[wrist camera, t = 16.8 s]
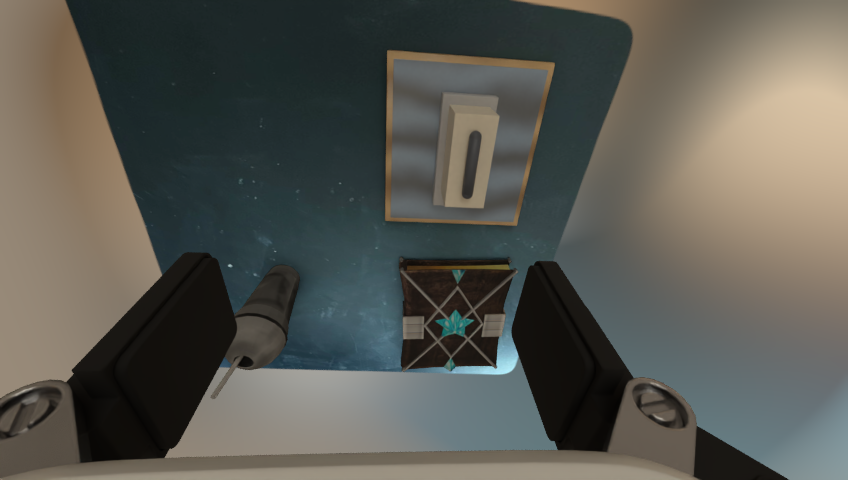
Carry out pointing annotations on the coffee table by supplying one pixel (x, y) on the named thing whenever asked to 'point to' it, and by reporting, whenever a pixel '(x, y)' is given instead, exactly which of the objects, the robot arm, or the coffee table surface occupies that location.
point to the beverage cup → (263, 322)
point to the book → (453, 311)
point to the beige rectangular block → (464, 149)
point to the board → (419, 123)
